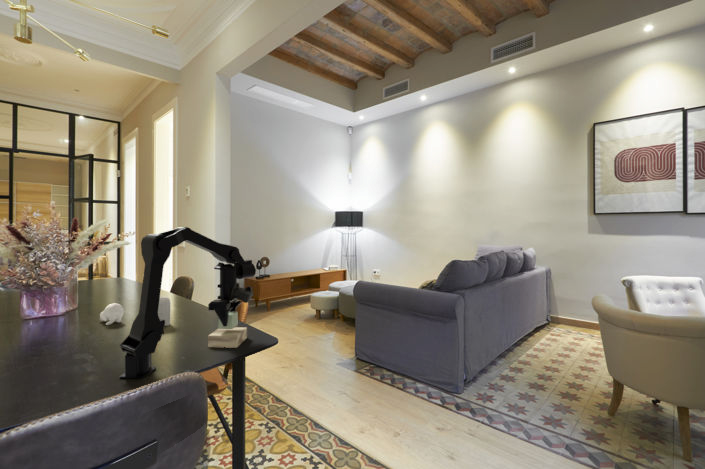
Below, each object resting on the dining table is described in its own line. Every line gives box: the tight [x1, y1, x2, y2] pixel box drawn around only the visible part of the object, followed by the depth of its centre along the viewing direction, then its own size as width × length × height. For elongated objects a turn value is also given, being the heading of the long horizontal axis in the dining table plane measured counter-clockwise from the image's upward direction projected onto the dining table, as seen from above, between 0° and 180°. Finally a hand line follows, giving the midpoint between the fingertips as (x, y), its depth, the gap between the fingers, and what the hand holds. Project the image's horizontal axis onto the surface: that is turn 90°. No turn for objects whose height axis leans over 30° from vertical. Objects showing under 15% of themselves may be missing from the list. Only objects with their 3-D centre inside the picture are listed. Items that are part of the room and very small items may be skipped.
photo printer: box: [158, 295, 171, 327], centre depth 136 cm, size 10×4×12 cm, turn 123°
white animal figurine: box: [99, 302, 125, 326], centre depth 141 cm, size 6×8×12 cm
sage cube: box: [217, 310, 239, 329], centre depth 118 cm, size 5×5×5 cm
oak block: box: [207, 326, 248, 349], centre depth 119 cm, size 10×10×4 cm
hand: (228, 324), depth 118 cm, fingers closed on sage cube, 5 cm apart
